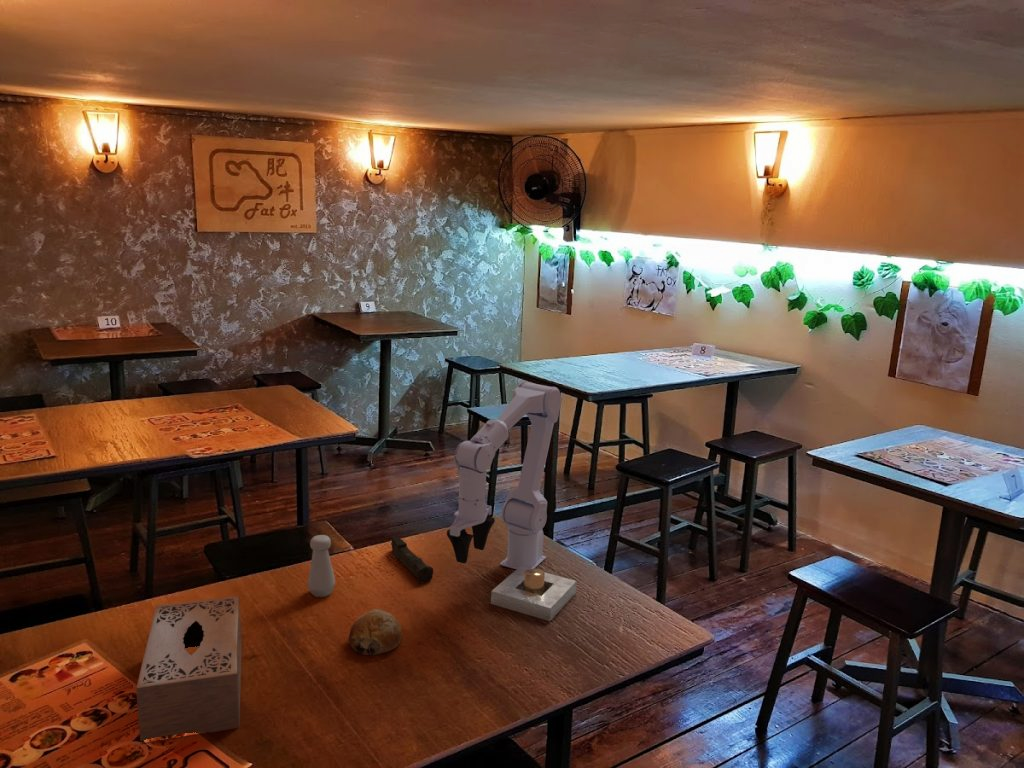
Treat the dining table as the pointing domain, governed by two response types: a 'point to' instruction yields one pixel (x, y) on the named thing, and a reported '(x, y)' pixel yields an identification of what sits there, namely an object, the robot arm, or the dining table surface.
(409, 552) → the hand tool
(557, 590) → the square stone frame
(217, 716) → the tissue box cover
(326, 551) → the salt shaker
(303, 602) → the dining table surface
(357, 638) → the bread roll
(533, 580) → the cylinder
